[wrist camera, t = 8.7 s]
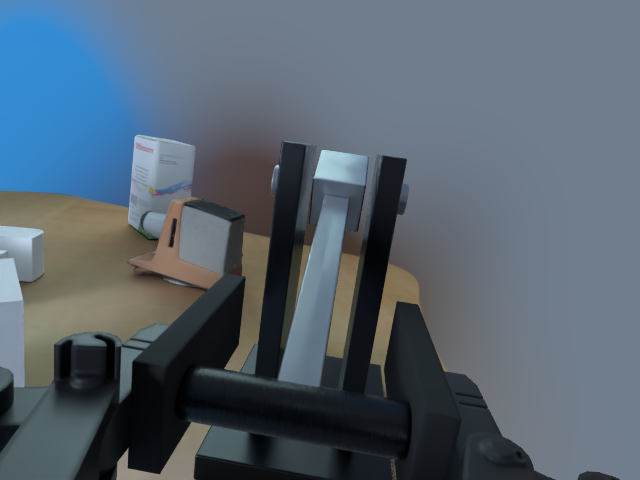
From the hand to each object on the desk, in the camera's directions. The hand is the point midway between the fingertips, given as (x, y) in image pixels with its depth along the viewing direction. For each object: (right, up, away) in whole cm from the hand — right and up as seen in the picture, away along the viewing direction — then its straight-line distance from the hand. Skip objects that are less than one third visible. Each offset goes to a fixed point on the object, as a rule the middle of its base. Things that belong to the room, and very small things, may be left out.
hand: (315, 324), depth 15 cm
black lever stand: (-1, -6, +6) cm, 9 cm away
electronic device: (-13, -1, +24) cm, 27 cm away
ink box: (-21, +4, +40) cm, 45 cm away
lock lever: (0, +1, 0) cm, 1 cm away
